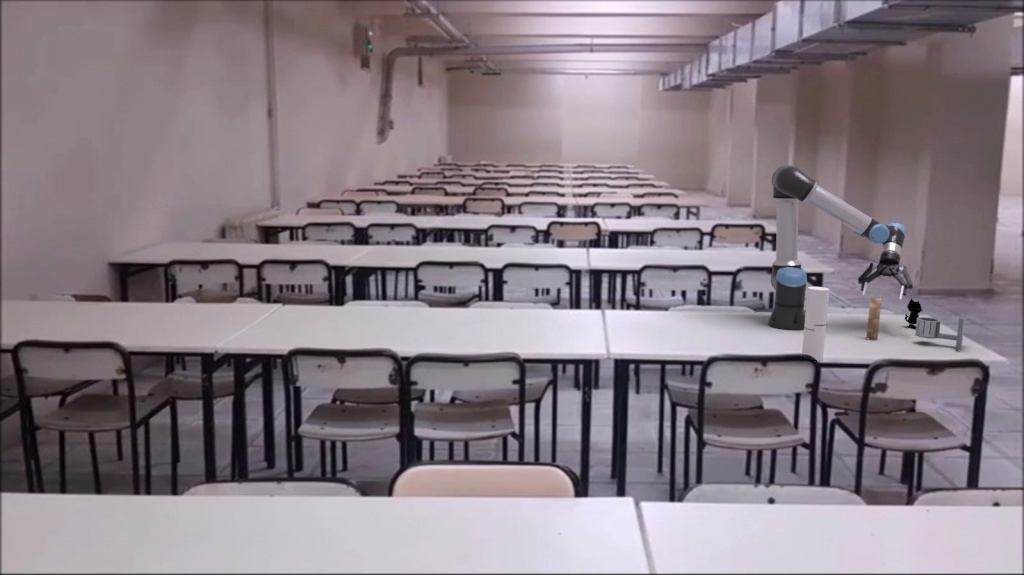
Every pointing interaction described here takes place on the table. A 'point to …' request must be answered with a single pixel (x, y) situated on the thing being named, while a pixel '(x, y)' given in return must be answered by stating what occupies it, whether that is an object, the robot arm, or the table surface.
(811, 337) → the cylindrical container
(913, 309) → the cat figurine
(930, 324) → the cup bracket
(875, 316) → the brown wooden block
